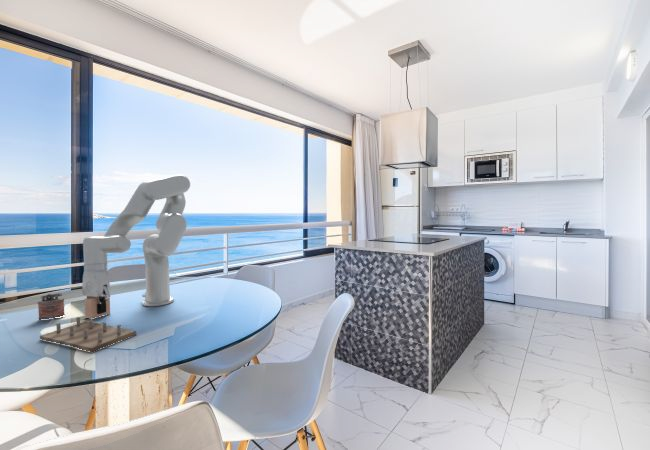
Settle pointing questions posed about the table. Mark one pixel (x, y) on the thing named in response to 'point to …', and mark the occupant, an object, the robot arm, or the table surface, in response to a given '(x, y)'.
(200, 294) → the table surface
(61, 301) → the lighter
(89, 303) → the salmon pink block
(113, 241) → the robot arm
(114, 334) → the rack
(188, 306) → the table surface
